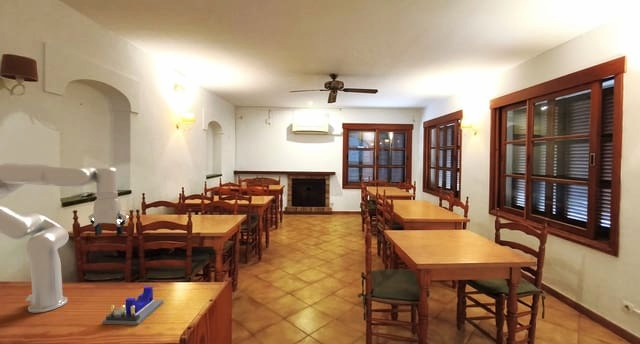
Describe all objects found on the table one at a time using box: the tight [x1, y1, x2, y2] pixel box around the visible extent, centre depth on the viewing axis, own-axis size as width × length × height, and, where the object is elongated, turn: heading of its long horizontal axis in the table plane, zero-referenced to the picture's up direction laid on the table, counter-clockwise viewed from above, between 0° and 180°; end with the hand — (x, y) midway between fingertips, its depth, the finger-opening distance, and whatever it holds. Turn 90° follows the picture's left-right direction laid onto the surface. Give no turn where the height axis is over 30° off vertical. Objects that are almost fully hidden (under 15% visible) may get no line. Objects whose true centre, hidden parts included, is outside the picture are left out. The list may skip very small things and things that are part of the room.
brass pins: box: [105, 304, 140, 321], centre depth 121 cm, size 12×2×5 cm, turn 87°
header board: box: [102, 299, 164, 326], centre depth 128 cm, size 14×17×1 cm
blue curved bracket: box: [125, 286, 154, 315], centre depth 130 cm, size 12×4×6 cm, turn 173°
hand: (109, 235), depth 139 cm, fingers open, 9 cm apart
